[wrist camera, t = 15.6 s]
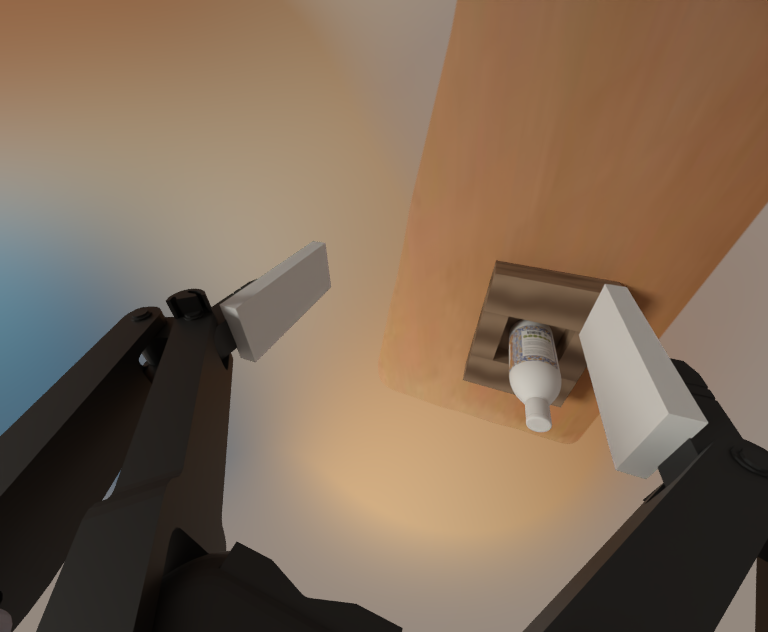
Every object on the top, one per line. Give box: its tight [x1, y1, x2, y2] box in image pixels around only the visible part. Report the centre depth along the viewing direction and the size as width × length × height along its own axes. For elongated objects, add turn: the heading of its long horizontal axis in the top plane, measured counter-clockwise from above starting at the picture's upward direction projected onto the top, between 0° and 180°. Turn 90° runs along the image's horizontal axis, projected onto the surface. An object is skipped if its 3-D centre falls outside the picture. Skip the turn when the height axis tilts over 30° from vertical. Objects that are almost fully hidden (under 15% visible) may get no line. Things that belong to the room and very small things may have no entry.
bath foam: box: [509, 320, 561, 432], centre depth 45 cm, size 7×7×20 cm
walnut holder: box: [463, 261, 621, 407], centre depth 51 cm, size 24×18×5 cm
